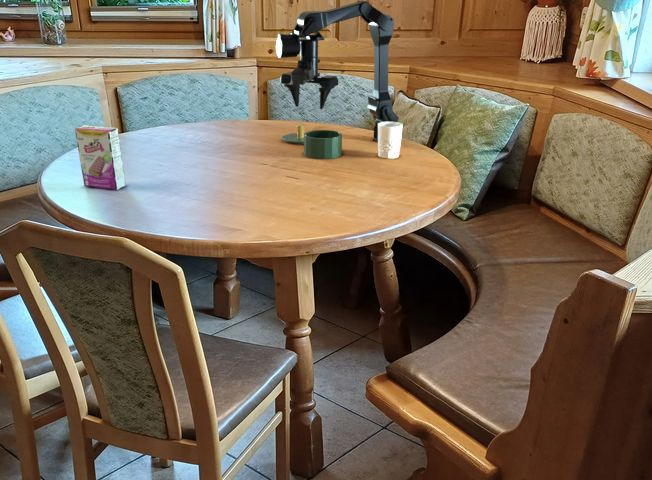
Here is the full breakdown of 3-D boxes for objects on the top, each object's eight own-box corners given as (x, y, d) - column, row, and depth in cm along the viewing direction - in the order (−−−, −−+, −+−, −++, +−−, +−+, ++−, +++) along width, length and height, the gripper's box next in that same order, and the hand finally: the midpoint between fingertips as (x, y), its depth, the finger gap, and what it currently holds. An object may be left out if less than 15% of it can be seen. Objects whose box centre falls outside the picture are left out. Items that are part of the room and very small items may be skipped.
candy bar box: (83, 187, 208) (73, 128, 199) (93, 182, 212) (83, 124, 204) (117, 190, 205) (108, 131, 196) (126, 186, 209) (118, 127, 200)
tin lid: (325, 138, 257) (326, 123, 254) (307, 146, 247) (307, 131, 244) (293, 134, 262) (293, 120, 259) (274, 142, 252) (274, 127, 250)
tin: (347, 152, 240) (348, 132, 237) (330, 160, 231) (330, 140, 228) (315, 148, 245) (315, 128, 242) (297, 156, 236) (297, 136, 233)
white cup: (373, 157, 234) (374, 125, 229) (380, 152, 240) (382, 120, 235) (396, 160, 231) (398, 127, 226) (403, 154, 237) (405, 122, 232)
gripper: (270, 57, 228) (272, 109, 236) (322, 61, 220) (322, 115, 228) (288, 53, 236) (289, 103, 245) (339, 57, 228) (338, 108, 237)
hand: (309, 107), depth 238 cm, fingers open, 9 cm apart
